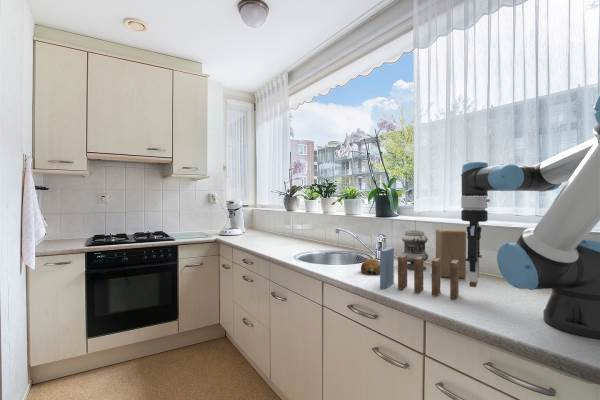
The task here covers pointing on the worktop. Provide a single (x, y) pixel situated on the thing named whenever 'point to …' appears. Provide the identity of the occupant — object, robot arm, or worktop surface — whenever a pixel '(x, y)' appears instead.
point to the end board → (386, 267)
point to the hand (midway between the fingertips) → (473, 278)
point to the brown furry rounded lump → (371, 267)
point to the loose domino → (474, 284)
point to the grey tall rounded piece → (414, 246)
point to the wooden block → (451, 250)
